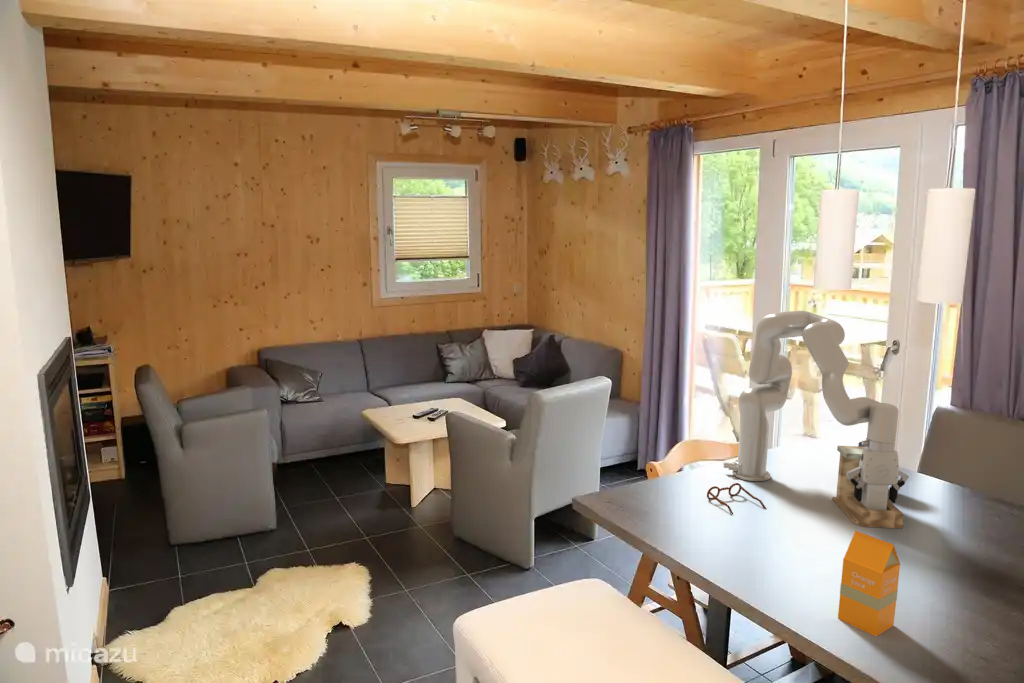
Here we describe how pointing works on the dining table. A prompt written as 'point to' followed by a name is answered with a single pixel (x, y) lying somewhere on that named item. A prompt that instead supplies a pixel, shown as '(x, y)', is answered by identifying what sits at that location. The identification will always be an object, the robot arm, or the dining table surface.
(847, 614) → the orange juice
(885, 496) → the skincare box
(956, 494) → the dining table surface
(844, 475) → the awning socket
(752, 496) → the glasses
